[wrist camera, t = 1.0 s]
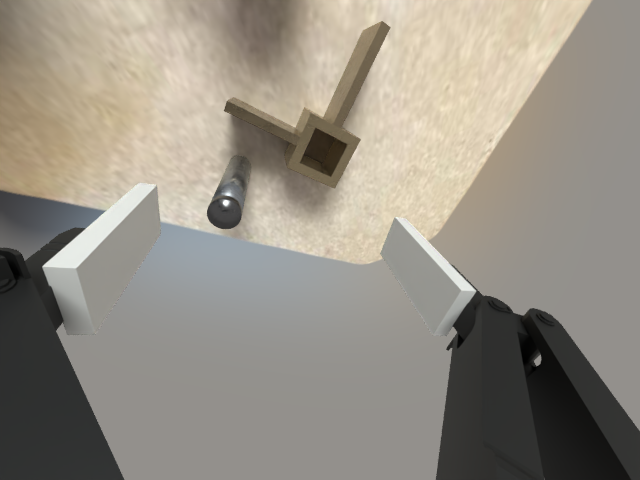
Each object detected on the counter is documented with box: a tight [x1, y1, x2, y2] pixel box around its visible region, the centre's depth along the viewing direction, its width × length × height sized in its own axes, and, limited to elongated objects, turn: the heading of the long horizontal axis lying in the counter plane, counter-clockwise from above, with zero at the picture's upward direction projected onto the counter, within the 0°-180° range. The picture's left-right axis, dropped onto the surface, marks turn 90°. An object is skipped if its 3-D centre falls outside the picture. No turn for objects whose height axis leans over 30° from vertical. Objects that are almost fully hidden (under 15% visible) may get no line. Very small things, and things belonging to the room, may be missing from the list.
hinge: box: [224, 21, 390, 188], centre depth 29 cm, size 14×16×6 cm
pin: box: [207, 156, 251, 229], centre depth 29 cm, size 3×3×15 cm
